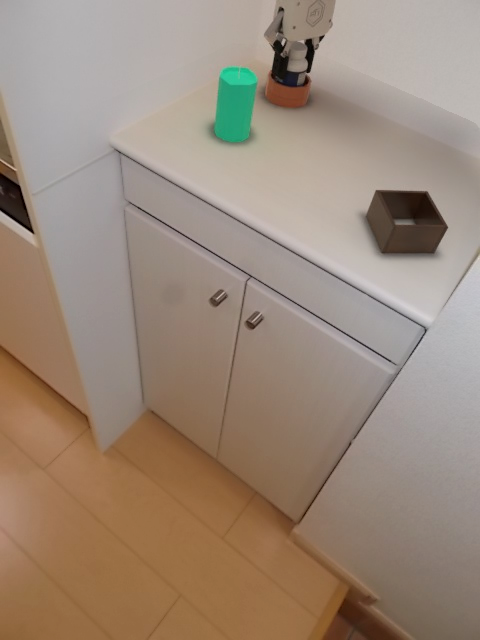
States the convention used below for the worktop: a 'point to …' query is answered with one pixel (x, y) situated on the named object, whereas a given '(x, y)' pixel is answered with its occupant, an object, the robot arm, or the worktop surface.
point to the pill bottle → (295, 66)
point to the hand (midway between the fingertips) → (291, 72)
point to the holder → (405, 207)
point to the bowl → (287, 92)
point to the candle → (235, 103)
